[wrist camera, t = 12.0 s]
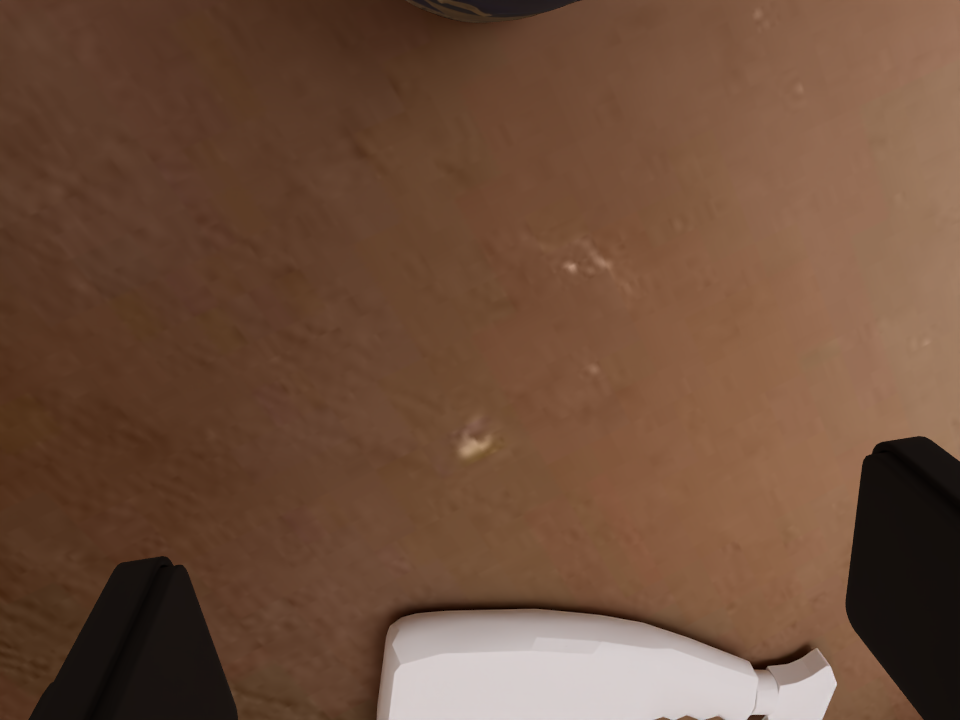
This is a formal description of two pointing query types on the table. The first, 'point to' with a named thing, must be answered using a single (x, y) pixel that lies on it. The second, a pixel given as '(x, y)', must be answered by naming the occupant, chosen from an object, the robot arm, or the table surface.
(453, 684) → the spray bottle
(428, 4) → the canister
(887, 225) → the table surface
